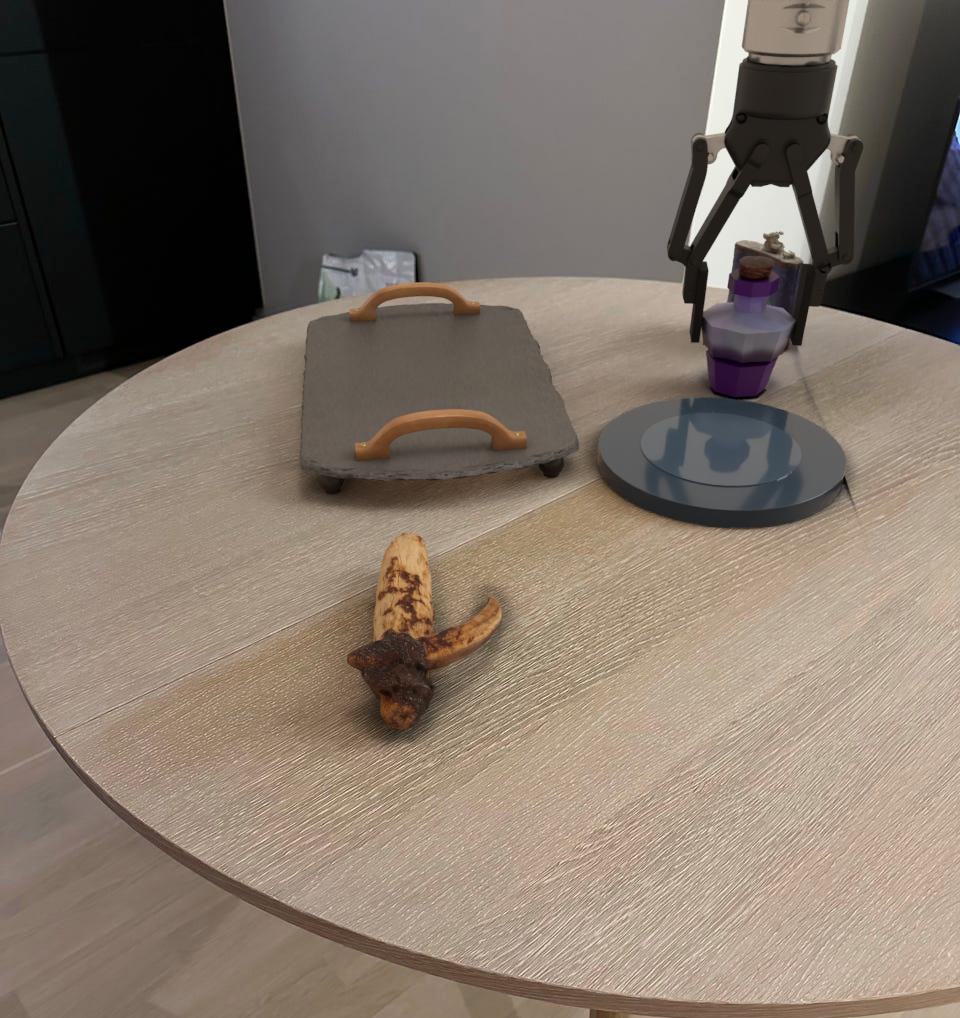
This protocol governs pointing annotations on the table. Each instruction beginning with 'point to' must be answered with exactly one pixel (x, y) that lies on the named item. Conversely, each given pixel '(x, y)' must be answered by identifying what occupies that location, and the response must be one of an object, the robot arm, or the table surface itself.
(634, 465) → the plate
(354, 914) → the table surface
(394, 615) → the bone fish hook
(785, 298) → the flask
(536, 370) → the serving tray
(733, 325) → the potion bottle
